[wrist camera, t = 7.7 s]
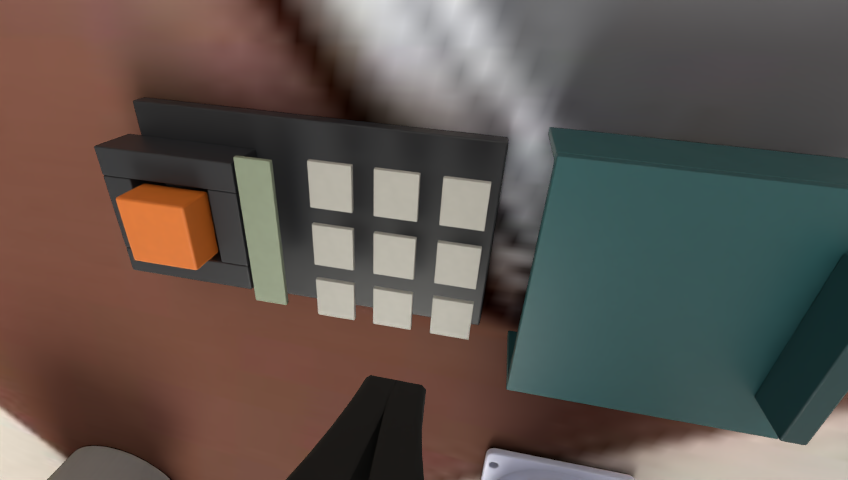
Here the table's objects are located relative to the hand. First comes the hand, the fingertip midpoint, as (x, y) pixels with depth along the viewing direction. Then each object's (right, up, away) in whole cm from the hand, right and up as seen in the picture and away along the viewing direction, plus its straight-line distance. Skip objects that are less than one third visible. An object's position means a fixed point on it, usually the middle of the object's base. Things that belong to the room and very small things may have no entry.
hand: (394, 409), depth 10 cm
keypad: (-2, +4, +6) cm, 8 cm away
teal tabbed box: (+10, +3, +7) cm, 12 cm away
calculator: (-4, +5, +9) cm, 11 cm away
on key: (-9, +5, +8) cm, 13 cm away
